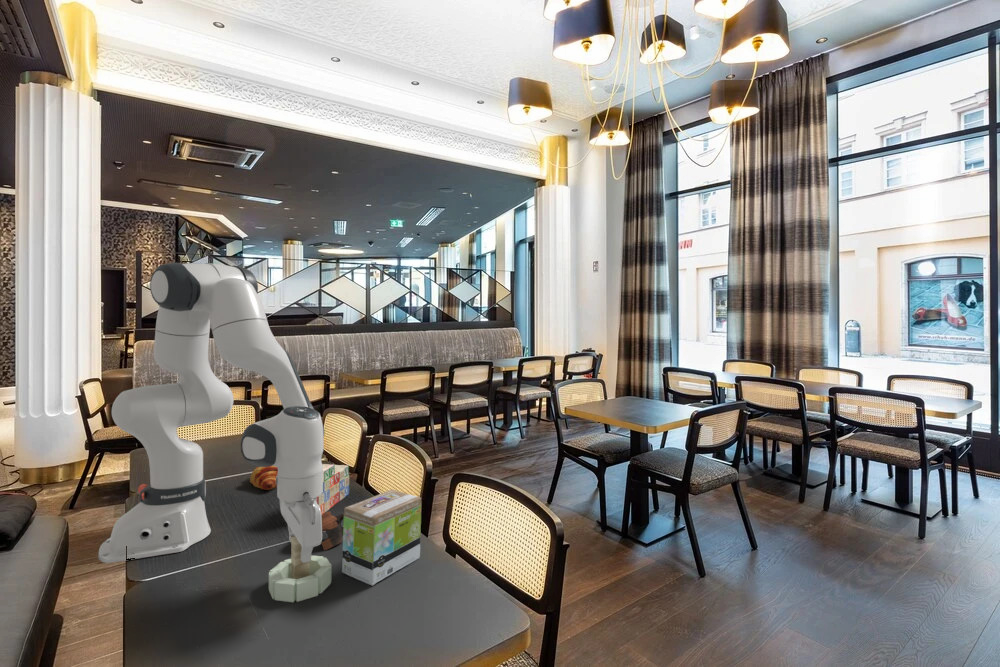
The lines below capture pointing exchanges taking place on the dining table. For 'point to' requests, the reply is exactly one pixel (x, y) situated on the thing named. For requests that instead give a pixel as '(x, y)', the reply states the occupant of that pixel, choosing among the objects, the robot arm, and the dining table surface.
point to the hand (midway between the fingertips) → (299, 551)
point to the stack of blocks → (333, 486)
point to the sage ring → (299, 580)
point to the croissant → (264, 477)
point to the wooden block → (298, 561)
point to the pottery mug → (332, 529)
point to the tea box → (381, 535)
